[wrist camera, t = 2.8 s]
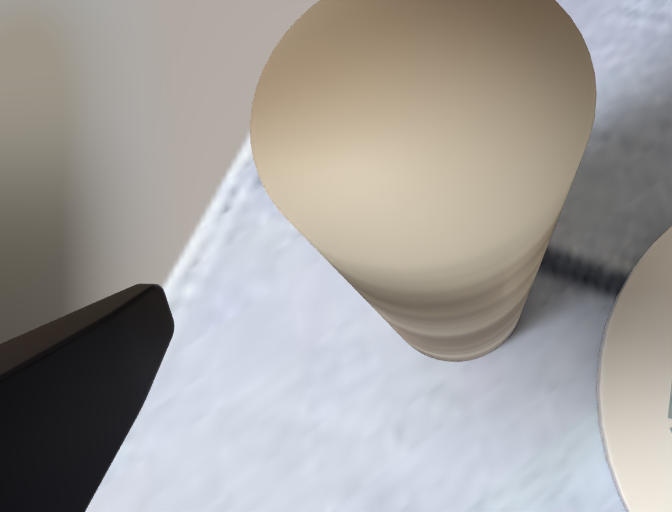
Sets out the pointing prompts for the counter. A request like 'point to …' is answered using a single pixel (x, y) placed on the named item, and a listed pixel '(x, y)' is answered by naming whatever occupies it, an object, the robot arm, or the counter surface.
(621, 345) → the ring dish
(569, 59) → the birch cylinder
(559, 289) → the counter surface
